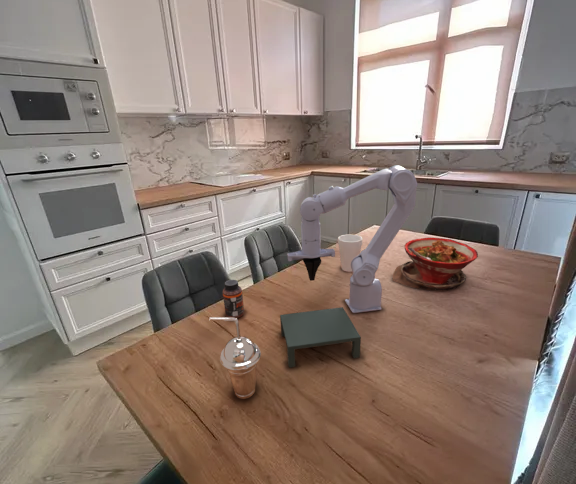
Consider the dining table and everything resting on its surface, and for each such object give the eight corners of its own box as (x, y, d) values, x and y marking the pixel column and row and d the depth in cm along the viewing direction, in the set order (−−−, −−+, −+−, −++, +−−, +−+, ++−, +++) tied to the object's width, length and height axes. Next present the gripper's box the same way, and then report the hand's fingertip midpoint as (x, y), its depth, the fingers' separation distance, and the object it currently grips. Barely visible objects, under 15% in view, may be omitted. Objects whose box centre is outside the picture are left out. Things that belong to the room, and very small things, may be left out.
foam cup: (364, 266, 128) (366, 236, 123) (356, 275, 120) (357, 243, 115) (342, 262, 132) (343, 233, 127) (333, 270, 125) (334, 240, 120)
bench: (342, 325, 91) (342, 306, 88) (359, 357, 78) (361, 336, 75) (281, 333, 88) (280, 314, 86) (288, 367, 76) (287, 347, 73)
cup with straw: (255, 410, 65) (246, 330, 57) (216, 401, 67) (202, 323, 59) (269, 380, 72) (263, 305, 64) (234, 373, 75) (223, 300, 67)
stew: (423, 302, 100) (429, 256, 94) (379, 273, 121) (382, 234, 115) (489, 286, 108) (499, 242, 102) (437, 261, 129) (442, 224, 123)
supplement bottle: (240, 320, 95) (236, 287, 91) (222, 318, 97) (217, 286, 92) (247, 309, 101) (243, 278, 96) (229, 308, 102) (225, 277, 98)
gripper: (330, 232, 98) (330, 271, 103) (285, 236, 96) (287, 276, 101) (337, 239, 91) (336, 280, 96) (288, 244, 89) (290, 286, 94)
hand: (311, 279), depth 98 cm, fingers closed
